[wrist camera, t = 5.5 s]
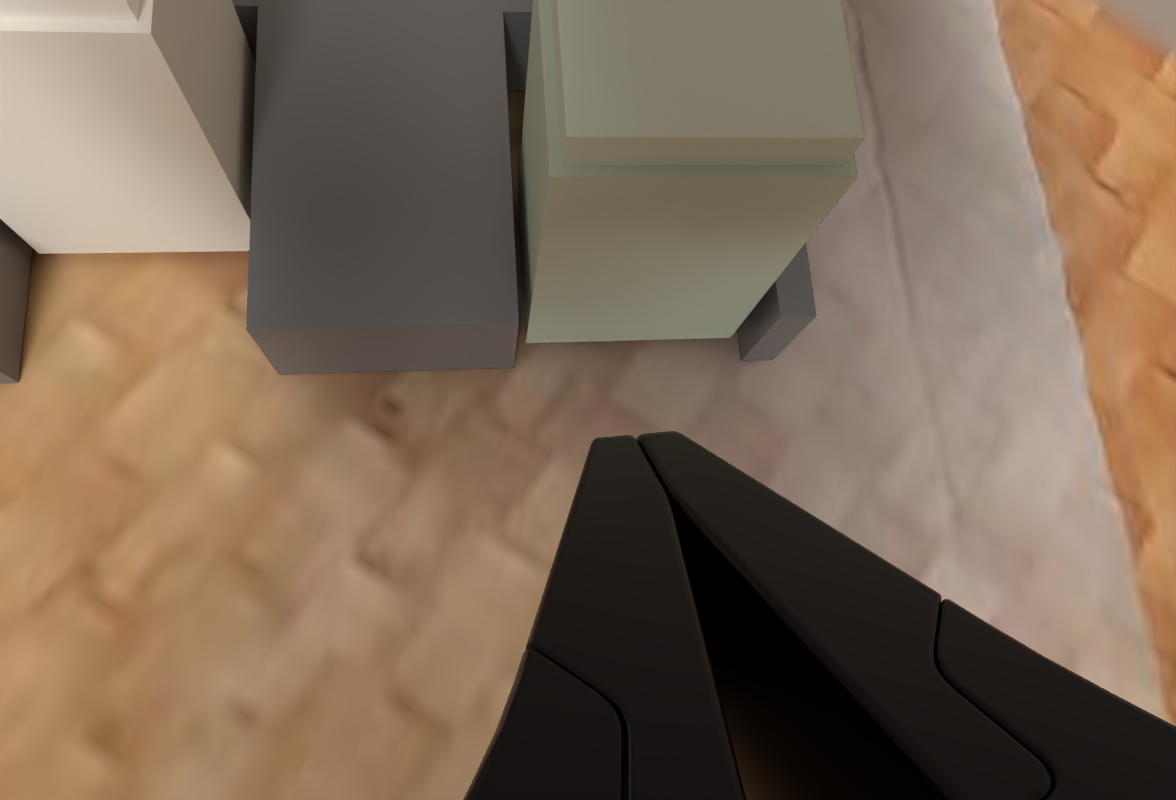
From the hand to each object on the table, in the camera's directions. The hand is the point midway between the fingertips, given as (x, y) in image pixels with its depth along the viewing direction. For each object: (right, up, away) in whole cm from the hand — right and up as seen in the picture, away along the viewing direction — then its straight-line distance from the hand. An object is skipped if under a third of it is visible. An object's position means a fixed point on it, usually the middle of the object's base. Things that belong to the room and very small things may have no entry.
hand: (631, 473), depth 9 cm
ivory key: (-11, +6, +13) cm, 18 cm away
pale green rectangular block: (0, +4, +13) cm, 14 cm away
